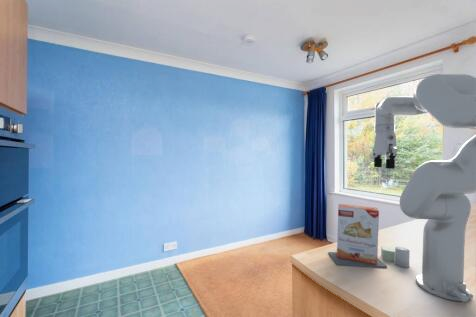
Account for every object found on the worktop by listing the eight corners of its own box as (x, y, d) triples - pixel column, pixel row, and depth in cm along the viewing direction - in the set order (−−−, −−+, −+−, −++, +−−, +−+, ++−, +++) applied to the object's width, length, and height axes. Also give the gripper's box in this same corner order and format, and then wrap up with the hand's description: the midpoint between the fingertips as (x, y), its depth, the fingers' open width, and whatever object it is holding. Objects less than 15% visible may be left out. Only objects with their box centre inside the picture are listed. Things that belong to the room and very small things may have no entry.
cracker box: (336, 258, 88) (337, 206, 87) (337, 252, 93) (338, 203, 93) (378, 266, 82) (379, 210, 81) (375, 259, 87) (377, 206, 87)
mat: (386, 267, 82) (386, 266, 82) (336, 265, 83) (336, 263, 83) (373, 255, 92) (373, 254, 92) (328, 253, 93) (328, 251, 93)
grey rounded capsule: (411, 268, 81) (412, 252, 81) (398, 266, 82) (398, 250, 82) (405, 262, 86) (405, 247, 86) (392, 261, 87) (393, 246, 87)
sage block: (394, 262, 86) (394, 251, 86) (382, 259, 88) (382, 249, 88) (392, 257, 90) (392, 248, 90) (381, 255, 92) (381, 246, 92)
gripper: (406, 127, 89) (405, 169, 90) (382, 131, 106) (381, 166, 107) (386, 127, 90) (385, 169, 90) (366, 131, 107) (365, 166, 107)
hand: (383, 167), depth 98 cm, fingers open, 9 cm apart
